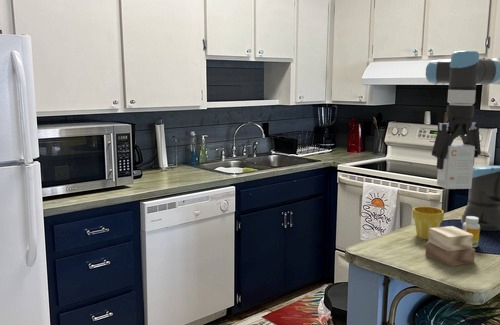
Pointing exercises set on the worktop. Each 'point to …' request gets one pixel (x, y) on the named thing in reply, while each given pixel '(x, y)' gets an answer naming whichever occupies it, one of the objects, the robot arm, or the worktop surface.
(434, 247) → the walnut slab
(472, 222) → the supplement bottle
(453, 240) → the maple slab
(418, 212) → the plant pot
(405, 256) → the worktop surface
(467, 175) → the small box
